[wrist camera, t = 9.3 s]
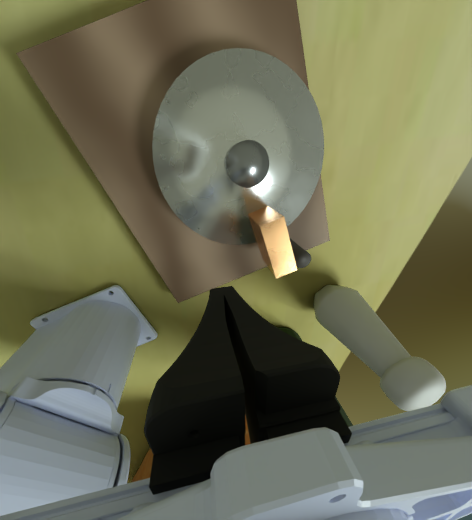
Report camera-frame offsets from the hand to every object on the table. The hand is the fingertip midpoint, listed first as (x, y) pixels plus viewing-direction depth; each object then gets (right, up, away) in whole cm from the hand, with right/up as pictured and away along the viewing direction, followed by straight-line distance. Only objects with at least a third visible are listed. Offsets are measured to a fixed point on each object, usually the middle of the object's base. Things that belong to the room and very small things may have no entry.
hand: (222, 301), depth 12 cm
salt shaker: (+13, -2, +15) cm, 20 cm away
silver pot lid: (+2, +9, +4) cm, 11 cm away
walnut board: (-1, +10, +5) cm, 12 cm away
